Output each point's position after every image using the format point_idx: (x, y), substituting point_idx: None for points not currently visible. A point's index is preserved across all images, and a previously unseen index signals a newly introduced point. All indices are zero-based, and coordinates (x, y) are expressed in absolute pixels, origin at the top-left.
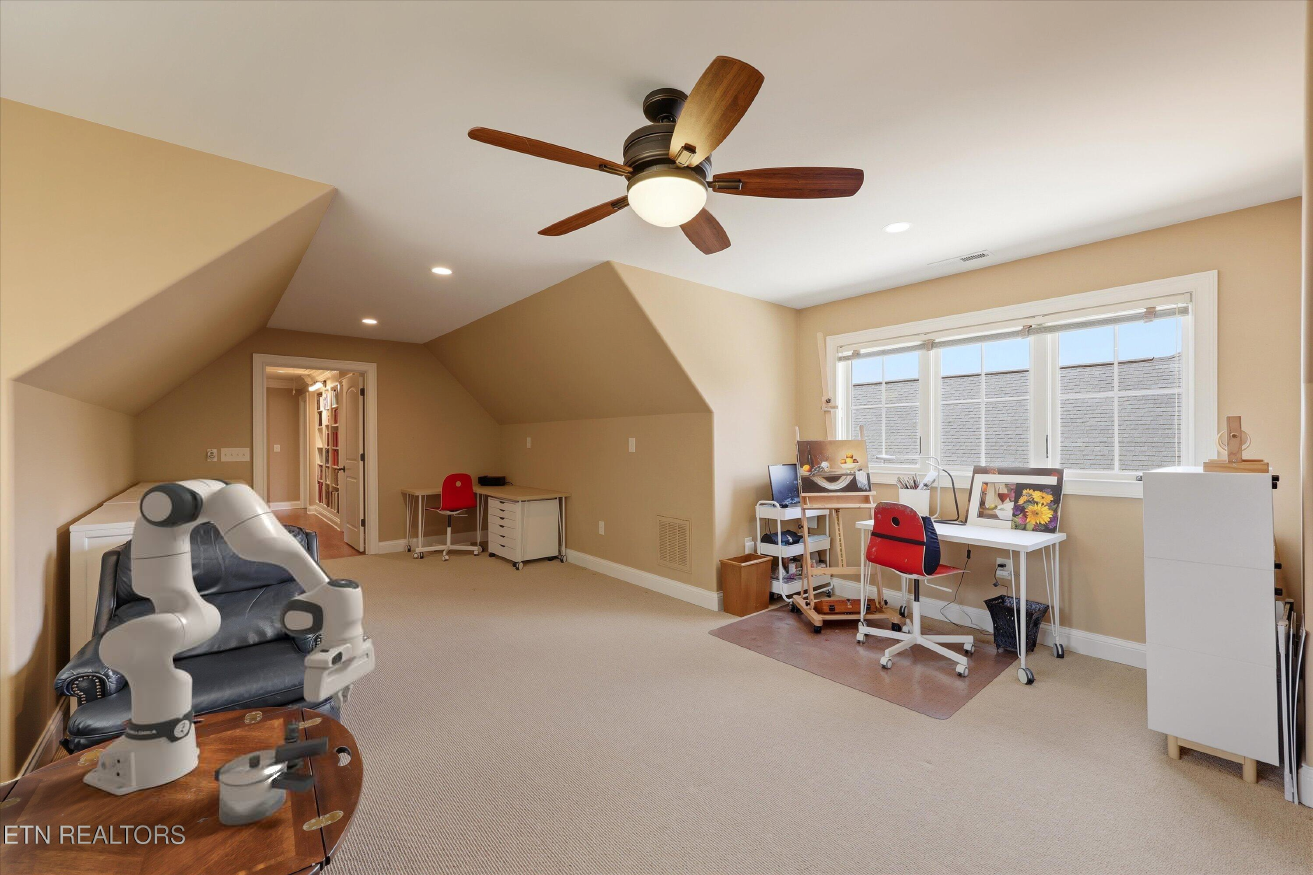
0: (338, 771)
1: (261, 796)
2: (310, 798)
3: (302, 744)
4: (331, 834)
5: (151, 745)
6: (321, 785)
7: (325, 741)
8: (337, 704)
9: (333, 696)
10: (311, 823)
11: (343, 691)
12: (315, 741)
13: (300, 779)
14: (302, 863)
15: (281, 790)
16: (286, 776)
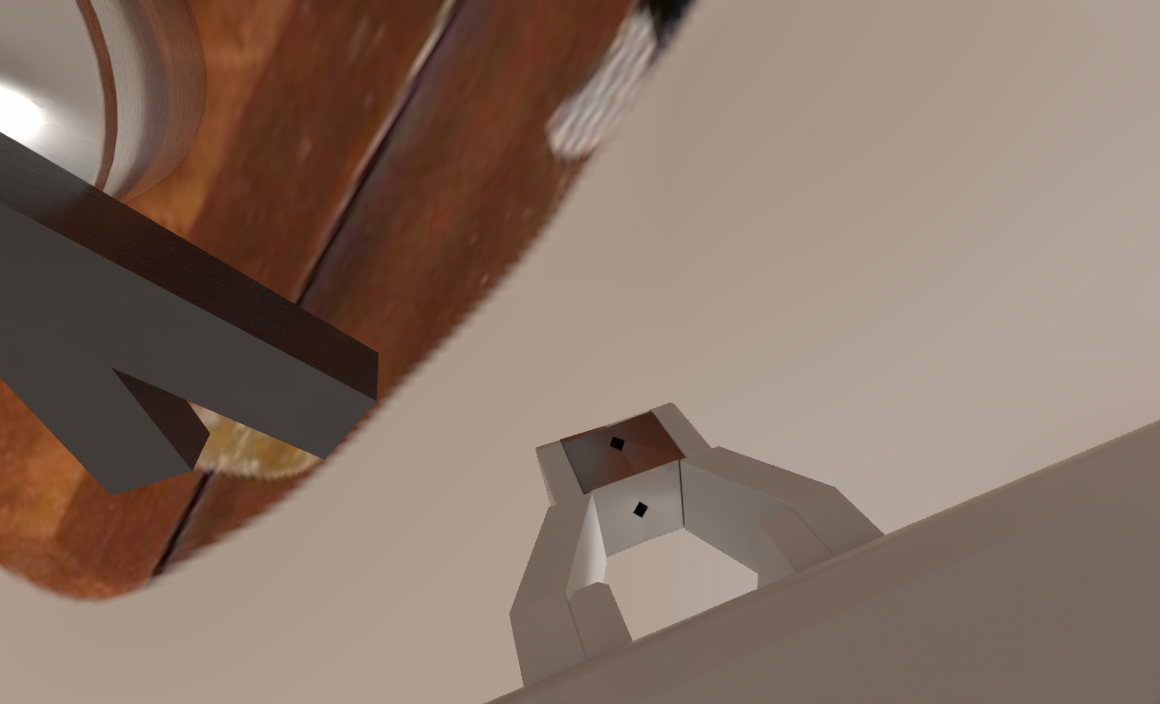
0: (507, 177)
1: None
2: (287, 263)
3: (148, 351)
4: (215, 528)
5: None
6: (384, 211)
7: (316, 451)
8: (546, 489)
9: (533, 574)
10: None
11: (724, 490)
12: (261, 396)
13: (98, 450)
14: (55, 588)
15: None
16: (28, 351)
